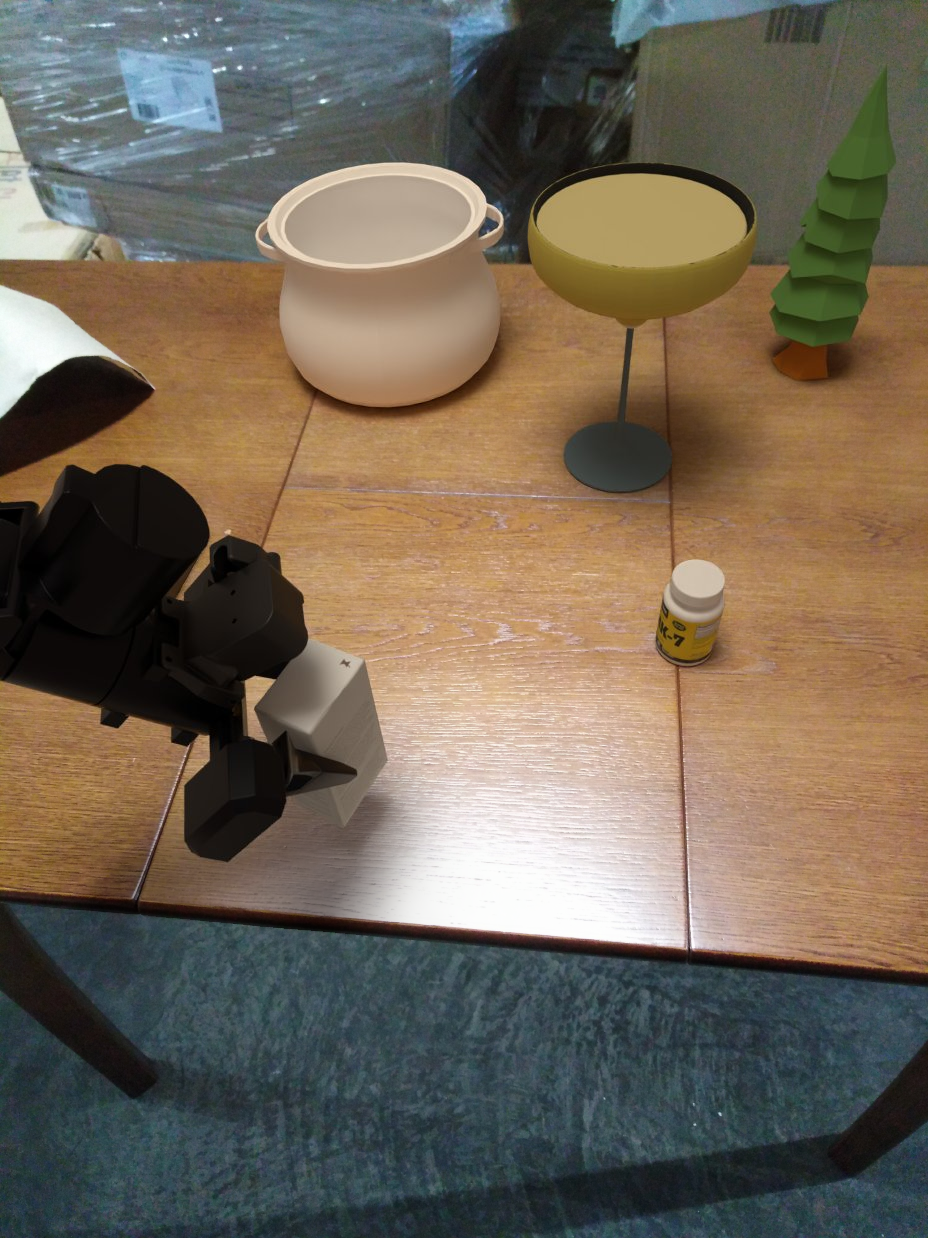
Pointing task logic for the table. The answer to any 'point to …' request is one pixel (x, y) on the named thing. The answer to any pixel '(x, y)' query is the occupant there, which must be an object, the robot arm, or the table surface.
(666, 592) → the supplement bottle
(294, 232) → the pot
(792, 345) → the decorative tree
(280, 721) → the cosmetic box
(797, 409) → the table surface
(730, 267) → the cocktail glass
